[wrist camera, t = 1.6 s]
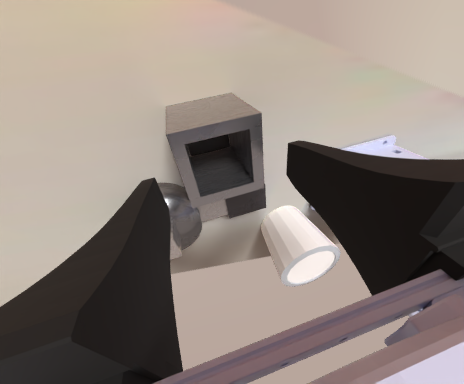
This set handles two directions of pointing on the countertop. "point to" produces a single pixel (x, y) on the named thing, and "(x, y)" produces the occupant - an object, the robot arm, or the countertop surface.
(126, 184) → the countertop surface
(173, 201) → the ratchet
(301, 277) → the shot glass
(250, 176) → the socket
